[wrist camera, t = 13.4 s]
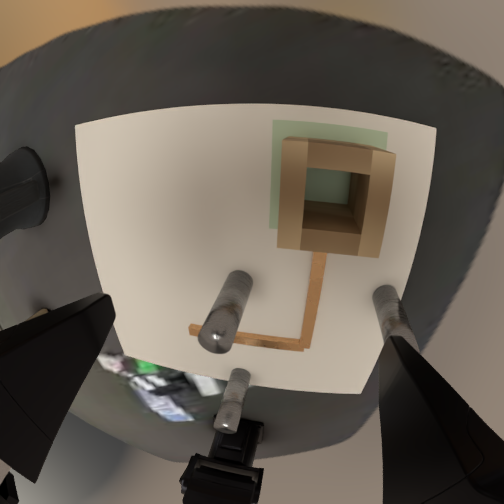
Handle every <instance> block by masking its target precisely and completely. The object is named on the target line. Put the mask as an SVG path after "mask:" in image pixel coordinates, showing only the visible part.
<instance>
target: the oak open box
mask: <svg viewBox="0 0 504 504" xmlns="http://www.w3.org/2000/svg"><path fill="white" fill-rule="evenodd" d="M395 162H396V154H394V153H392V152H389V151H386V150H383V149H380V148H377V147H374V146H371V145H365V144H359V143H351V142H344V141H336V140H327V139H317V138H306V137H293V136H288V137H287V138H285V139H283V140H282V153H281V176H280V197H279V215H278V233H277V248H282V249H293V250H303V251H312V252H322V253H332V254H342V255H352V256H361V257H371V258H379V255H380V250H381V246H382V241H383V237H384V232H385V227H386V221H387V216H388V210H389V205H390V199H391V192H392V185H393V178H394V171H395ZM307 167H309V168H319V169H329V170H337V171H346V172H351V178H350V187H349V195H348V203H347V204H339V203H330V202H321V201H311V200H304V198H305V185H306V171H307Z"/></svg>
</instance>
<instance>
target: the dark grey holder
mask: <svg viewBox="0 0 504 504" xmlns="http://www.w3.org/2000/svg"><path fill="white" fill-rule="evenodd" d="M49 201H50V193H49V182H48V179H47V175H46V170H45V168H44V165H43V163H42V161H41V159H40V157H39V156H38V155H37V153H36V152H35V151H34V150H33V149H31V148H29V147H21V148H19V149H18V150H16V151H14V152H13V153H11V154H9V155H8V156H7V157H6V158H5V159H4V160H3V161H2V162H0V239H1V238H2V237H3V236H5V235H7V234H8V233H10V232H12V231H14V230H15V229H27V228H31V227H35V226H38V225H41V224H42V223H43V222H44V220H45V219H46V217H47V213H48V210H49Z"/></svg>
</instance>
